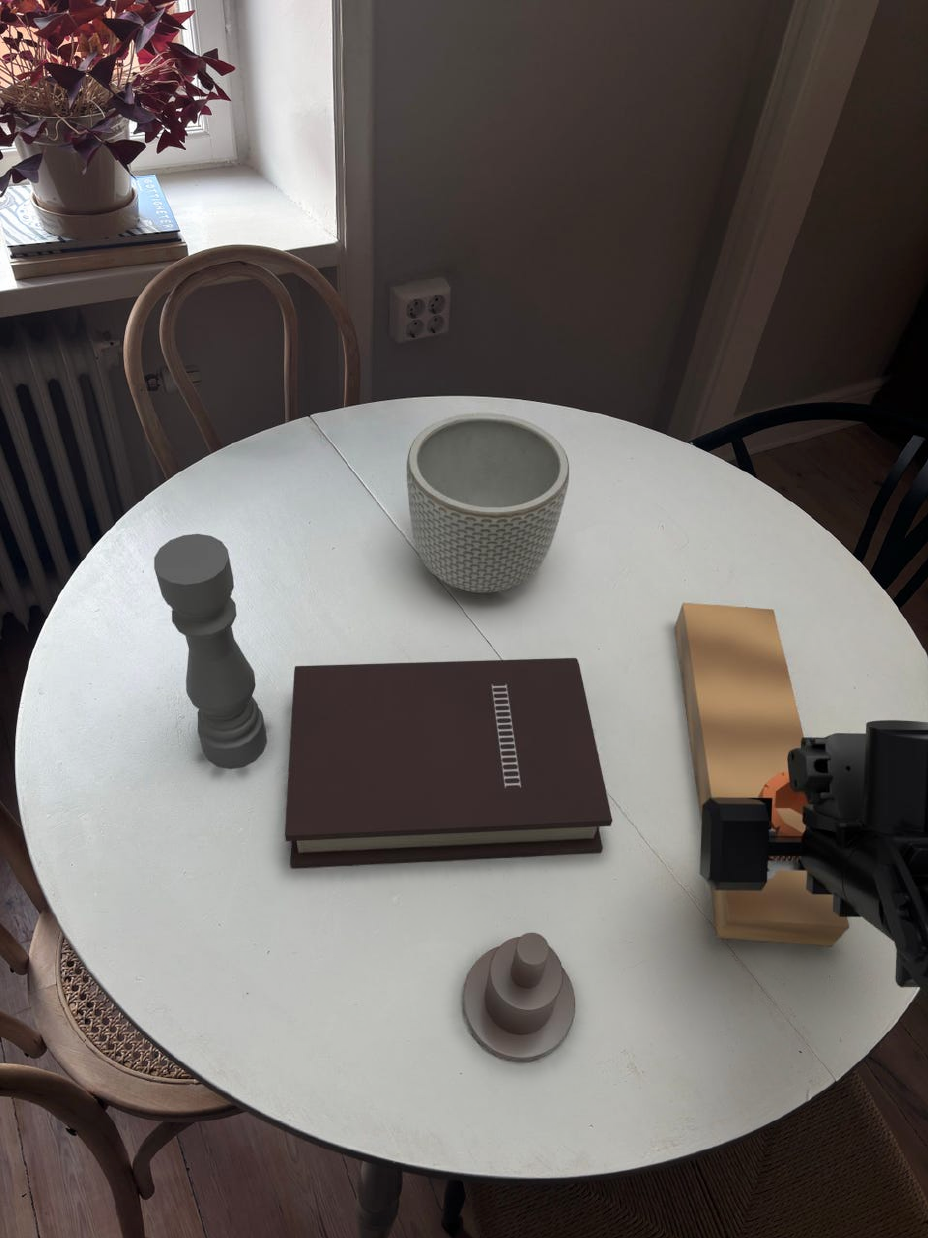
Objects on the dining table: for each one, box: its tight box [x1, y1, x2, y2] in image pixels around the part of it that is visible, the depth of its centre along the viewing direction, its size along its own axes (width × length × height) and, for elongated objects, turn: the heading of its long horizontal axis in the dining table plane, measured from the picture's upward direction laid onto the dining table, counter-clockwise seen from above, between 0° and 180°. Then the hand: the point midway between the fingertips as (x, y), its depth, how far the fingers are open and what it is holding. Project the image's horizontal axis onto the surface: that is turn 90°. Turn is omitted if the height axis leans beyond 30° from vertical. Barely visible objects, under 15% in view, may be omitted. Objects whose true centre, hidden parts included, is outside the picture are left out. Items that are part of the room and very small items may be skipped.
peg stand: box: [462, 932, 576, 1063], centre depth 69 cm, size 9×9×11 cm
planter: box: [406, 412, 570, 594], centre depth 101 cm, size 17×17×16 cm
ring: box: [758, 772, 813, 859], centre depth 71 cm, size 6×7×4 cm
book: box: [284, 657, 613, 869], centre depth 86 cm, size 28×20×6 cm
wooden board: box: [674, 602, 850, 947], centre depth 88 cm, size 36×10×4 cm, turn 177°
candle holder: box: [153, 533, 268, 770], centre depth 79 cm, size 6×6×25 cm
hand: (786, 814), depth 73 cm, fingers closed on ring, 6 cm apart
